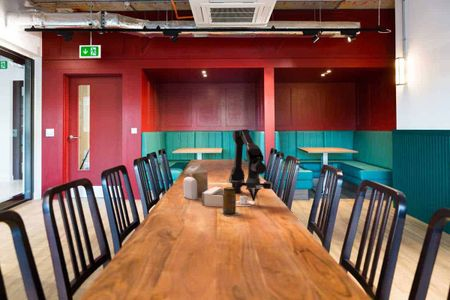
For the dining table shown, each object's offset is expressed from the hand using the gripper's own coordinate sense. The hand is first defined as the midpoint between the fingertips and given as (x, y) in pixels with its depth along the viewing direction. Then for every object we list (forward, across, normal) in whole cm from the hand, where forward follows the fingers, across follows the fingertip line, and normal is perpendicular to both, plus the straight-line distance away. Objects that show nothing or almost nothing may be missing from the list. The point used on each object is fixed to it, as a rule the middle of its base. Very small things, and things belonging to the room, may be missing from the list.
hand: (253, 200), depth 153 cm
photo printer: (+2, -38, +5) cm, 39 cm away
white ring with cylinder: (+2, -6, 0) cm, 6 cm away
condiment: (+2, -8, -19) cm, 21 cm away
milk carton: (+2, -39, +16) cm, 43 cm away
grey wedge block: (+2, -20, 0) cm, 21 cm away
